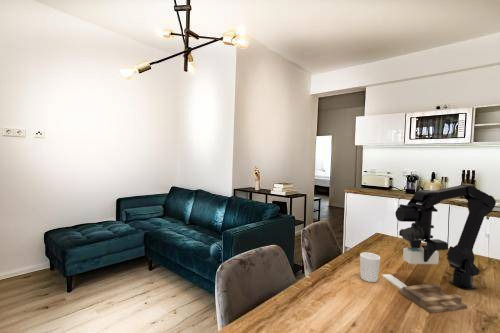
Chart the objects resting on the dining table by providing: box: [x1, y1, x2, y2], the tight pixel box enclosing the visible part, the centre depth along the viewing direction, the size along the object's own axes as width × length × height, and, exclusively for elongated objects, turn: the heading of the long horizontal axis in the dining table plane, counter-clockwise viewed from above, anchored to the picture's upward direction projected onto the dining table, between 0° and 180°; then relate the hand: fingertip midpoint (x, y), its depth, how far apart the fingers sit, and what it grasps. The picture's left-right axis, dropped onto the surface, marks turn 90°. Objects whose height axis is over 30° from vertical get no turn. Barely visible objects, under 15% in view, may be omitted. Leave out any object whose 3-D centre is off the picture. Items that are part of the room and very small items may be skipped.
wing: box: [381, 273, 407, 289], centre depth 111 cm, size 4×12×1 cm, turn 8°
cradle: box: [397, 283, 468, 314], centre depth 98 cm, size 16×14×3 cm
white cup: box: [359, 251, 381, 283], centre depth 114 cm, size 8×8×10 cm
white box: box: [402, 247, 440, 265], centre depth 109 cm, size 12×4×5 cm, turn 95°
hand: (420, 259), depth 109 cm, fingers closed on white box, 5 cm apart
